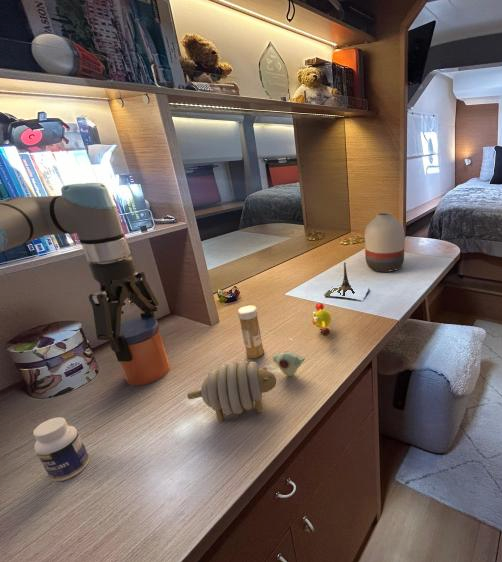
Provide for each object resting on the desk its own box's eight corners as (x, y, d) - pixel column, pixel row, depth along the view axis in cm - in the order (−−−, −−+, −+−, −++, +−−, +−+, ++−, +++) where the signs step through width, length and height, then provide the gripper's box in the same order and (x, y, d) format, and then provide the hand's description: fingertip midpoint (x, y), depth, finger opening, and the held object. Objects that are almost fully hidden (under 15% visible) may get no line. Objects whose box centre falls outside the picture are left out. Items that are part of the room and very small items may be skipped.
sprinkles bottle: (265, 355, 89) (257, 310, 84) (247, 360, 88) (238, 314, 82) (262, 347, 93) (255, 303, 88) (245, 351, 91) (236, 307, 86)
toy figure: (310, 318, 108) (308, 299, 105) (328, 316, 109) (326, 297, 106) (316, 349, 92) (314, 327, 89) (336, 346, 93) (334, 324, 90)
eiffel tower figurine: (370, 289, 127) (369, 256, 122) (362, 301, 118) (361, 265, 113) (333, 286, 131) (331, 253, 126) (323, 297, 122) (320, 262, 117)
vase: (395, 276, 139) (395, 219, 130) (358, 271, 146) (356, 216, 136) (409, 264, 153) (410, 211, 144) (375, 259, 160) (374, 208, 150)
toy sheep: (282, 415, 70) (275, 370, 66) (192, 441, 64) (177, 395, 60) (276, 383, 79) (269, 343, 75) (196, 404, 73) (184, 362, 69)
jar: (117, 383, 80) (99, 337, 76) (148, 360, 89) (133, 317, 84) (150, 387, 79) (134, 341, 74) (178, 363, 87) (166, 320, 82)
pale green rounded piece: (308, 372, 83) (305, 349, 80) (301, 383, 79) (298, 359, 76) (278, 368, 84) (274, 345, 82) (270, 379, 81) (266, 355, 78)
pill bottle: (44, 487, 56) (19, 444, 52) (57, 461, 61) (35, 420, 57) (84, 475, 58) (63, 432, 54) (94, 450, 63) (75, 410, 59)
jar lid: (99, 343, 76) (97, 336, 75) (135, 322, 85) (133, 315, 84) (136, 347, 74) (133, 339, 73) (168, 325, 83) (166, 318, 82)
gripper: (128, 244, 82) (154, 324, 91) (45, 278, 62) (87, 377, 71) (159, 243, 82) (181, 324, 91) (84, 278, 62) (122, 377, 70)
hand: (140, 347), depth 81 cm, fingers closed on jar lid, 9 cm apart
